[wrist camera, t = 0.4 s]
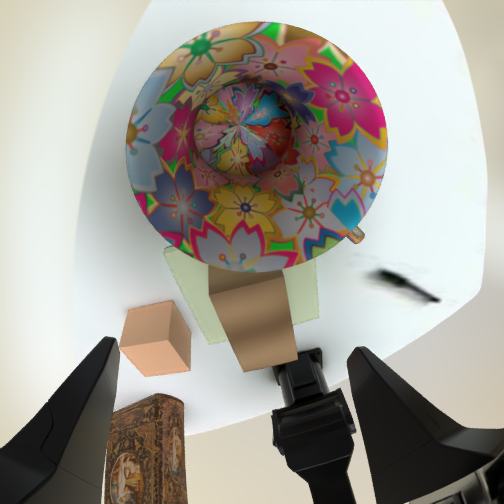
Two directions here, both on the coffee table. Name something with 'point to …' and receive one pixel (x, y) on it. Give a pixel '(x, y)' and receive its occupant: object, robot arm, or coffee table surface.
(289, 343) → the walnut brick
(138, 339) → the cube
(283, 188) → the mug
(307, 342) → the coffee table surface
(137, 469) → the book
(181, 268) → the baseplate
